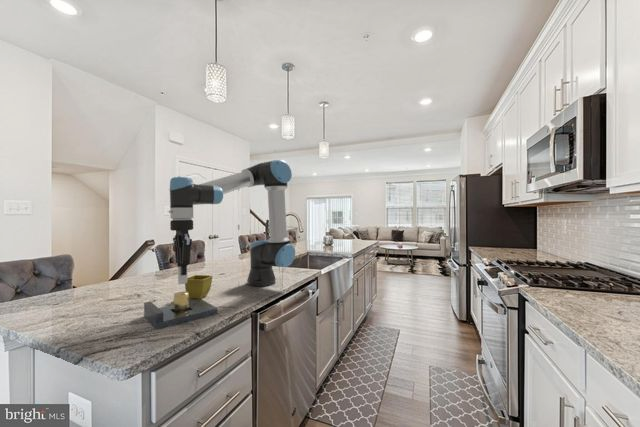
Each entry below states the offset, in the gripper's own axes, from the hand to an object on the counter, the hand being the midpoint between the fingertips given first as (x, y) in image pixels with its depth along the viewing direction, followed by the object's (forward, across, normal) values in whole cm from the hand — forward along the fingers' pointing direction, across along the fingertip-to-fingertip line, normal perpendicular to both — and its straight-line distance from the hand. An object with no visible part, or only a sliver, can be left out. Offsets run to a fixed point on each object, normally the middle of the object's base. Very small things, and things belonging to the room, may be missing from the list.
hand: (182, 283), depth 98 cm
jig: (+12, 0, -1) cm, 12 cm away
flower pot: (+12, -18, +12) cm, 25 cm away
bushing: (+12, 0, -1) cm, 12 cm away
